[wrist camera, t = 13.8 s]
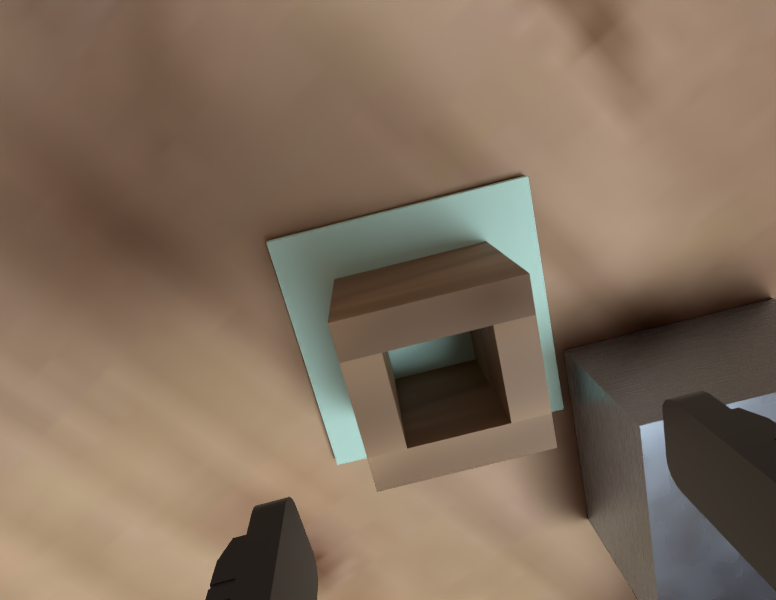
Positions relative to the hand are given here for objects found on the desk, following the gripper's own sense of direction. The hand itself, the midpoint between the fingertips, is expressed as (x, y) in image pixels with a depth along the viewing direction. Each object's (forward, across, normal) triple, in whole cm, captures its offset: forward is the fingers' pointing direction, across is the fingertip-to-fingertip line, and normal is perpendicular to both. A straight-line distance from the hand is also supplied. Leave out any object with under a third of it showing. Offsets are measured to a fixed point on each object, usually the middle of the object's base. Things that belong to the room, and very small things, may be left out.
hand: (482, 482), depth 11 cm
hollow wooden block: (+10, 0, 0) cm, 10 cm away
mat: (+10, 0, 0) cm, 10 cm away
